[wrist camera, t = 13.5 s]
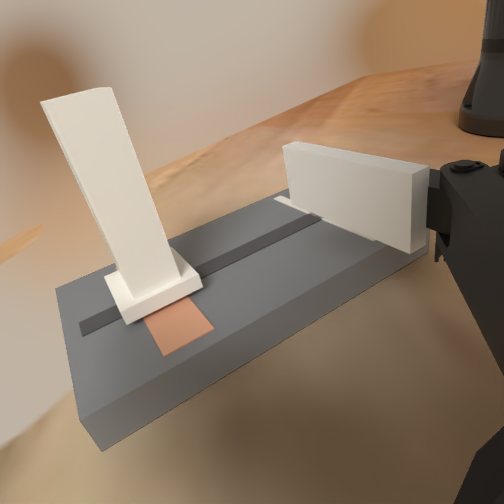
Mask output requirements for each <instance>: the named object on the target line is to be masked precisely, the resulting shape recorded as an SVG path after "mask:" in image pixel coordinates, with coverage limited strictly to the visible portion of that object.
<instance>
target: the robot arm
mask: <svg viewBox="0 0 504 504" xmlns="http://www.w3.org/2000/svg"><path fill="white" fill-rule="evenodd" d="M459 127H460V128H462V129H463V130H465V131H468V132H471V133H475V134H480V135H488V136H499V137H504V0H487V4H486V13H485V21H484V30H483V40H482V49H481V57H480V61H479V64H478V66H477V68H476V71H475V73H474V75H473V78H472V80H471V83H470V85H469V87H468V90H467V92H466V95H465V97H464V99H463V102H462V104H461V107H460V113H459ZM282 148H283V155H284V161H285V167H286V174H287V180H288V186H289V193H290V199H291V204H292V205H295V206H297V207H299V208H302V209H304V210H307V211H309V212H311V213H314V214H316V215H318V216H321V217H323V218H325V219H328V220H330V221H333V222H335V223H337V224H340V225H342V226H344V227H347V228H349V229H352V230H354V231H356V232H359V233H361V234H363V235H366V236H368V237H370V238H373V239H375V240H378V241H380V242H382V243H385V244H387V245H389V246H392V247H394V248H396V249H399V250H401V251H404V252H406V253H408V254H411V253H413V252H415V251H417V250H418V249H420V248H422V247H423V246H425V245H426V233H427V228H429V229H432V230H435V231H436V243H435V262H438V261H439V257H440V256H441V255H443V257H444V261H446V263H447V265H448V267H449V269H450V271H451V273H452V275H453V277H454V279H455V281H456V283H457V285H458V287H459V289H460V291H461V293H462V295H463V297H464V299H465V301H466V303H467V305H468V307H469V309H470V310H471V312H472V314H473V316H474V318H475V320H476V322H477V324H478V326H479V328H480V330H481V332H482V334H483V336H484V338H485V340H486V342H487V344H488V346H489V348H490V350H491V352H492V354H493V356H494V358H495V360H496V362H497V364H498V366H499V368H500V370H501V372H502V374H503V376H504V149H503V150H501V154H500V161H499V165H496V166H492V167H489V166H488V165H486V164H484V163H482V162H480V161H471V160H460V161H456V162H451V163H448V164H445V165H443V166H442V167H441V168H440V170H435V169H430V166H429V165H424V164H418V163H413V162H407V161H402V160H396V159H391V158H386V157H380V156H375V155H369V154H364V153H359V152H353V151H348V150H342V149H337V148H332V147H326V146H321V145H315V144H310V143H304V142H299V141H295V142H292V143H290V144H287V145H284V146H282ZM454 504H504V426H503V427H502V428H501V429H500V430H499V431H498V432H497V433H496V434H495V435H494V436H493V437H492V438H491V439H490V440H489V441H488V442H487V443H486V444H485V445H483V446H482V447H481V448H480V449H479V450H478V451H477V452H476V454H475V457H474V459H473V461H472V463H471V466H470V468H469V470H468V472H467V475H466V477H465V479H464V481H463V484H462V486H461V488H460V490H459V493H458V495H457V497H456V499H455V502H454Z"/></svg>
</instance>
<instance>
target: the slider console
mask: <svg viewBox="0 0 504 504" xmlns="http://www.w3.org/2000/svg"><path fill="white" fill-rule="evenodd" d="M167 241H168V244H169V246H170V247H173V248H174V249H175V250H176V252H177V253H178V254H179V255H180V256H181V257H182V258H183V259H184V260H185V261H186V262H187V263H188V264H189V265H190V266H191V267H192V268H193V269H194V270H195V271H196V272H197V273H198V274H199V277H200V280H201V283H202V286H203V287H202V288H200V289H198V290H196V291H194V292H192V293H190V294H188V295H186V296H184V297H182V298H180V299H178V300H176V301H174V302H172V303H170V304H168V305H166V306H164V307H162V308H160V309H158V310H156V311H154V312H152V313H150V314H148V315H146V316H144V317H142V318H140V319H138V320H136V321H134V322H132V323H130V324H128V325H126V323H125V321H124V319H123V317H122V315H121V313H120V311H119V309H118V307H117V304H116V302H115V300H114V298H113V296H112V294H111V291H110V289H109V287H108V285H107V283H106V280H105V278H104V276H106V275H109V274H111V273H113V272H115V271H118V268H117V266H116V264H115V263H114V264H111V265H109V266H107V267H104V268H102V269H100V270H98V271H95V272H93V273H91V274H88V275H86V276H84V277H81V278H79V279H77V280H74V281H72V282H70V283H67V284H65V285H63V286H60V287H58V288H56V289H55V290H56V295H57V300H58V306H59V311H60V317H61V322H62V328H63V333H64V338H65V344H66V349H67V355H68V360H69V365H70V371H71V377H72V381H73V387H74V393H75V398H76V404H77V409H78V415H79V420H80V422H81V423H82V425H83V426H84V428H85V429H86V430H87V432H88V433H89V435H90V436H91V437H92V439H93V440H94V442H95V443H96V444H97V446H98V447H99V449H100V450H101V451H104V450H106V449H107V448H109V447H111V446H112V445H114V444H115V443H117V442H119V441H120V440H122V439H124V438H125V437H127V436H128V435H130V434H132V433H133V432H135V431H137V430H138V429H140V428H142V427H143V426H145V425H146V424H148V423H150V422H151V421H153V420H155V419H156V418H158V417H159V416H161V415H163V414H164V413H166V412H168V411H169V410H171V409H172V408H174V407H176V406H177V405H179V404H181V403H182V402H184V401H186V400H187V399H189V398H190V397H192V396H194V395H195V394H197V393H199V392H200V391H202V390H203V389H205V388H207V387H208V386H210V385H212V384H213V383H215V382H216V381H218V380H220V379H221V378H223V377H225V376H226V375H228V374H230V373H231V372H233V371H234V370H236V369H238V368H239V367H241V366H243V365H244V364H246V363H247V362H249V361H251V360H252V359H254V358H256V357H257V356H259V355H261V354H262V353H264V352H265V351H267V350H269V349H270V348H272V347H274V346H275V345H277V344H278V343H280V342H282V341H283V340H285V339H287V338H288V337H290V336H291V335H293V334H295V333H296V332H298V331H300V330H301V329H303V328H305V327H306V326H308V325H309V324H311V323H313V322H314V321H316V320H318V319H319V318H321V317H322V316H324V315H326V314H327V313H329V312H331V311H332V310H334V309H335V308H337V307H339V306H340V305H342V304H344V303H345V302H347V301H349V300H350V299H352V298H353V297H355V296H357V295H358V294H360V293H362V292H363V291H365V290H366V289H368V288H370V287H371V286H373V285H375V284H376V283H378V282H380V281H381V280H383V279H384V278H386V277H388V276H389V275H391V274H393V273H394V272H396V271H397V270H399V269H401V268H402V267H404V266H406V265H407V264H409V263H410V262H412V261H414V260H415V259H417V258H419V257H420V256H422V255H424V254H425V253H427V252H428V248H429V228H427V233H426V245H425V246H423V247H422V248H420V249H418V250H417V251H415V252H413V253H411V254H408V253H406V252H404V251H401V250H399V249H396V248H394V247H392V246H389V245H387V244H385V243H382V242H380V241H378V240H375V239H373V238H370V237H368V236H366V235H363V234H361V233H359V232H356V231H354V230H352V229H349V228H347V227H344V226H342V225H340V224H337V223H335V222H333V221H330V220H328V219H325V218H323V217H321V216H318V215H316V214H314V213H311V212H309V211H307V210H304V209H302V208H299V207H297V206H295V205H292V204H291V199H290V193H289V188H288V189H285V190H283V191H281V192H278V193H276V194H274V195H271V196H269V197H267V198H265V199H262V200H260V201H258V202H255V203H253V204H251V205H248V206H246V207H244V208H241V209H239V210H237V211H234V212H232V213H230V214H227V215H225V216H223V217H220V218H218V219H216V220H213V221H211V222H209V223H207V224H204V225H202V226H200V227H197V228H195V229H193V230H190V231H188V232H186V233H183V234H181V235H179V236H176V237H174V238H172V239H169V240H167Z"/></svg>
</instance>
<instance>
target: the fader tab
mask: <svg viewBox="0 0 504 504" xmlns="http://www.w3.org/2000/svg"><path fill="white" fill-rule="evenodd" d="M40 103H41V105H42V108H43V110H44V112H45V114H46V116H47V119H48V121H49V123H50V125H51V127H52V129H53V131H54V134H55V136H56V138H57V140H58V142H59V144H60V146H61V148H62V150H63V153H64V155H65V157H66V159H67V161H68V163H69V166H70V168H71V170H72V172H73V174H74V176H75V178H76V180H77V183H78V185H79V187H80V189H81V191H82V193H83V195H84V198H85V200H86V202H87V204H88V206H89V208H90V210H91V213H92V215H93V217H94V219H95V221H96V223H97V226H98V228H99V230H100V232H101V234H102V236H103V238H104V240H105V242H106V245H107V247H108V249H109V251H110V253H111V255H112V258H113V260H114V262H115V264H116V266H117V268H118V271H115V272H113V273H111V274H109V275H106V276H104V278H105V280H106V283H107V285H108V287H109V289H110V291H111V294H112V296H113V298H114V300H115V302H116V304H117V307H118V309H119V311H120V313H121V315H122V317H123V319H124V321H125V323H126V325H128V324H130V323H132V322H134V321H136V320H138V319H140V318H142V317H144V316H146V315H148V314H150V313H152V312H154V311H156V310H158V309H160V308H162V307H164V306H166V305H168V304H170V303H172V302H174V301H176V300H178V299H180V298H182V297H184V296H186V295H188V294H190V293H192V292H194V291H196V290H198V289H200V288H202V287H203V286H202V283H201V280H200V277H199V274H198V273H197V272H196V271H195V270H194V269H193V268H192V267H191V266H190V265H189V264H188V263H187V262H186V261H185V260H184V259H183V258H182V257H181V256H180V255H179V254H178V253H177V252H176V250H175V249H174V248H173V247H170V246H169V244H168V241H167V238H166V235H165V233H164V230H163V227H162V224H161V222H160V219H159V216H158V214H157V211H156V208H155V205H154V203H153V200H152V197H151V194H150V192H149V189H148V186H147V184H146V181H145V178H144V175H143V173H142V170H141V167H140V164H139V162H138V159H137V156H136V154H135V151H134V148H133V145H132V143H131V140H130V137H129V134H128V132H127V129H126V127H125V124H124V121H123V118H122V115H121V113H120V110H119V107H118V104H117V102H116V99H115V96H114V93H113V91H112V88H111V87H103V88H94V89H90V90H86V91H82V92H78V93H74V94H70V95H66V96H62V97H58V98H54V99H50V100H46V101H42V102H40Z"/></svg>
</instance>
